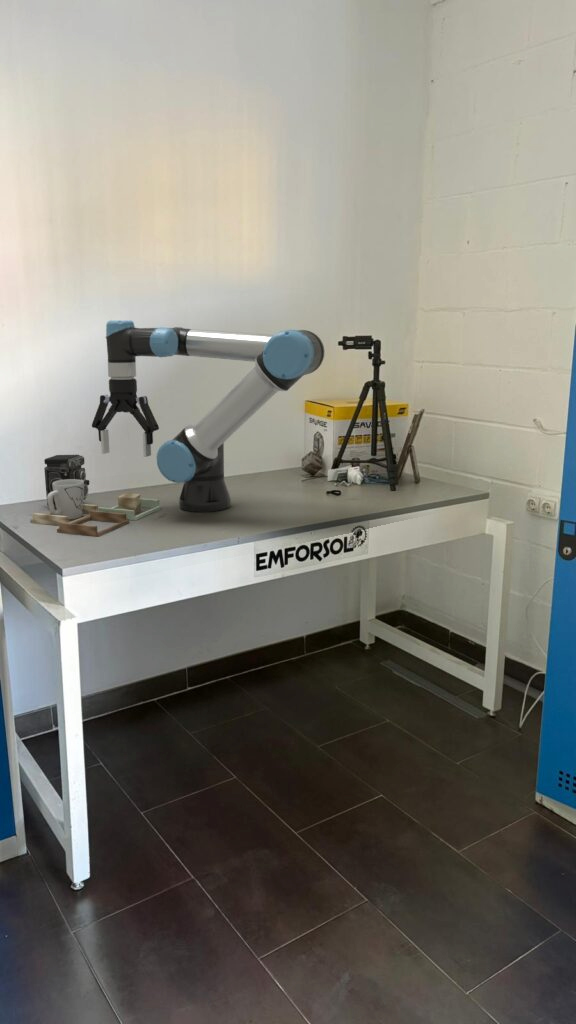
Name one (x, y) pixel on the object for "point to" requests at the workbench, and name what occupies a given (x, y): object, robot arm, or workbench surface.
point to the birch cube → (130, 502)
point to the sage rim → (130, 513)
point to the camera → (64, 471)
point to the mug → (67, 498)
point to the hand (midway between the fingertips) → (126, 454)
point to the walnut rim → (92, 530)
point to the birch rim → (58, 519)
